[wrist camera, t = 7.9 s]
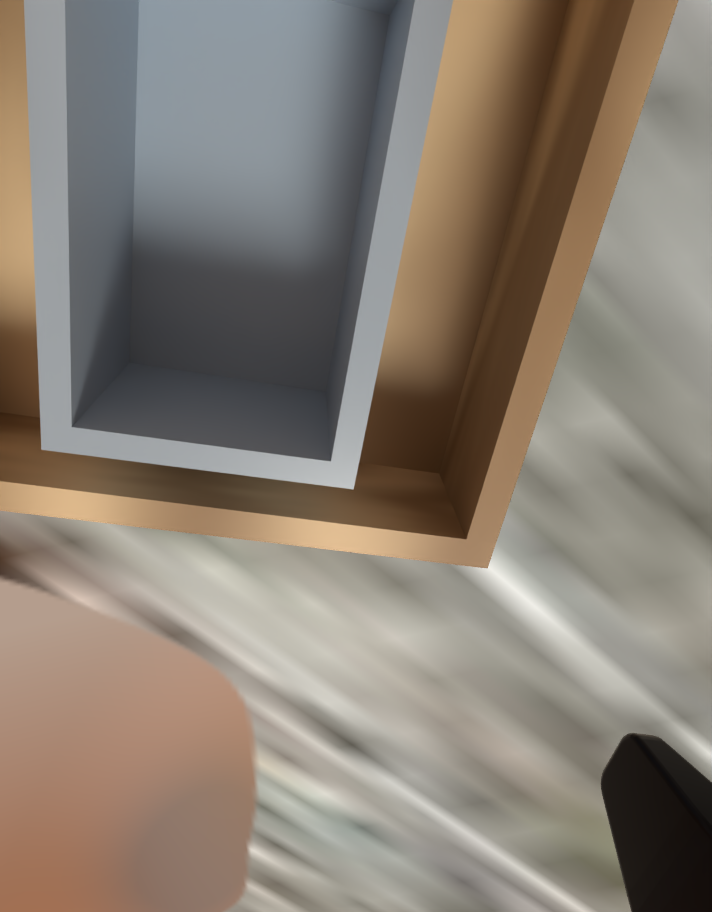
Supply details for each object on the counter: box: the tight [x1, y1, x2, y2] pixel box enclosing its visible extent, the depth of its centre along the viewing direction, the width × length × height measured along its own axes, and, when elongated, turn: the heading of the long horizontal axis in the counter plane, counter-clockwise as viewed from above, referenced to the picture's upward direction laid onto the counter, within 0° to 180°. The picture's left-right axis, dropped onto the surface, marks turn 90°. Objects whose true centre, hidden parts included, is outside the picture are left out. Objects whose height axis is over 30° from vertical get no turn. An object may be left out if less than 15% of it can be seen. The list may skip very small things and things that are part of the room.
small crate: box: [24, 0, 453, 489], centre depth 13 cm, size 10×6×5 cm, turn 170°
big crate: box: [0, 0, 678, 568], centre depth 14 cm, size 15×15×4 cm
